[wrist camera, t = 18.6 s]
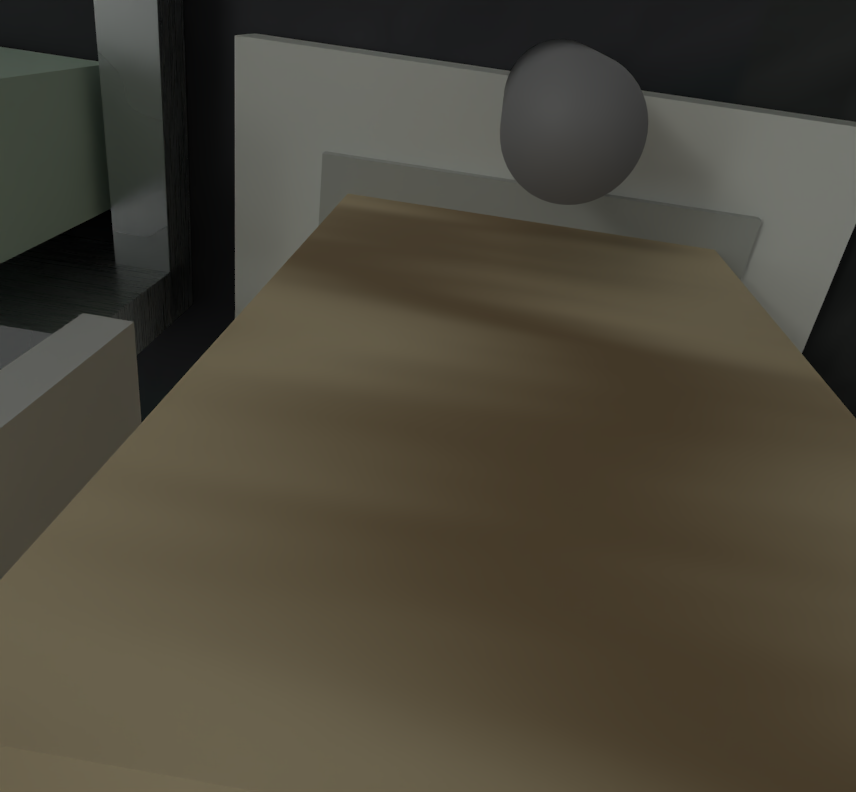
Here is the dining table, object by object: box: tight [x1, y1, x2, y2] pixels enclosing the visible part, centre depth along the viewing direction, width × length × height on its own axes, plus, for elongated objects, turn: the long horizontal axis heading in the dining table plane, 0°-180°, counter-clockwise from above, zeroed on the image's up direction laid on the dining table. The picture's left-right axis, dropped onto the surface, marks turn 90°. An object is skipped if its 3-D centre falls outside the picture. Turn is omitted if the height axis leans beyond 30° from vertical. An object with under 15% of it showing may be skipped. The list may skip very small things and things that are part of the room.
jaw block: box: [0, 194, 856, 792], centre depth 9 cm, size 6×6×10 cm
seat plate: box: [235, 33, 856, 354], centre depth 12 cm, size 10×11×4 cm
